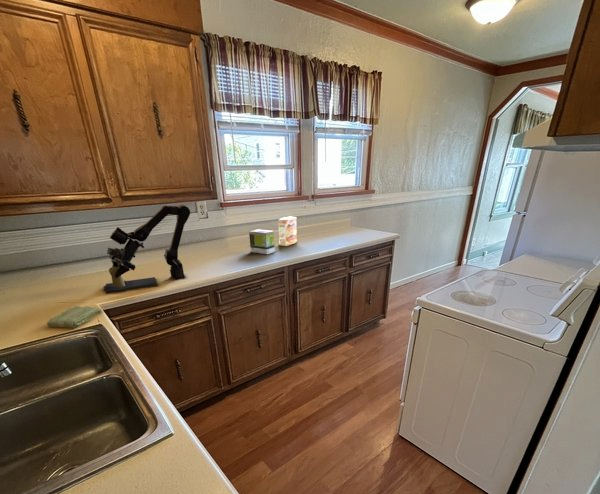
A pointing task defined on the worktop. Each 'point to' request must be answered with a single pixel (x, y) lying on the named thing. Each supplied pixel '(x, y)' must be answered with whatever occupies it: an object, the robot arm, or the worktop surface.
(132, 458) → the worktop surface
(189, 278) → the worktop surface
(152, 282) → the socket pad
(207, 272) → the worktop surface
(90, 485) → the worktop surface
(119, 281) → the cork
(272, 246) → the tea box
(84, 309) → the washcloth
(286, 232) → the coffeecake box
